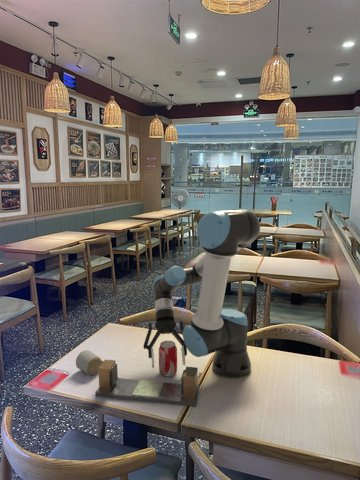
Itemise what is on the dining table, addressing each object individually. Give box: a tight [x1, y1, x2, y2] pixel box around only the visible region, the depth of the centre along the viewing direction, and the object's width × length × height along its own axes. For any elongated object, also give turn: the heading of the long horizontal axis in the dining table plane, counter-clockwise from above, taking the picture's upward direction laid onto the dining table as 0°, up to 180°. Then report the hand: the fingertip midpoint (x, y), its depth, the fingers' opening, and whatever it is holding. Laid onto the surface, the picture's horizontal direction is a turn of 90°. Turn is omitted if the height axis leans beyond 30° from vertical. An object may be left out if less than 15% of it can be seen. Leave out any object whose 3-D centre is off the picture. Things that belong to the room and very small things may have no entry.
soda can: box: [158, 340, 178, 377], centre depth 135 cm, size 7×7×12 cm
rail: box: [95, 359, 201, 408], centre depth 122 cm, size 35×10×10 cm, turn 80°
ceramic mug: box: [75, 349, 104, 376], centre depth 138 cm, size 11×8×8 cm
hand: (168, 365), depth 133 cm, fingers open, 11 cm apart
